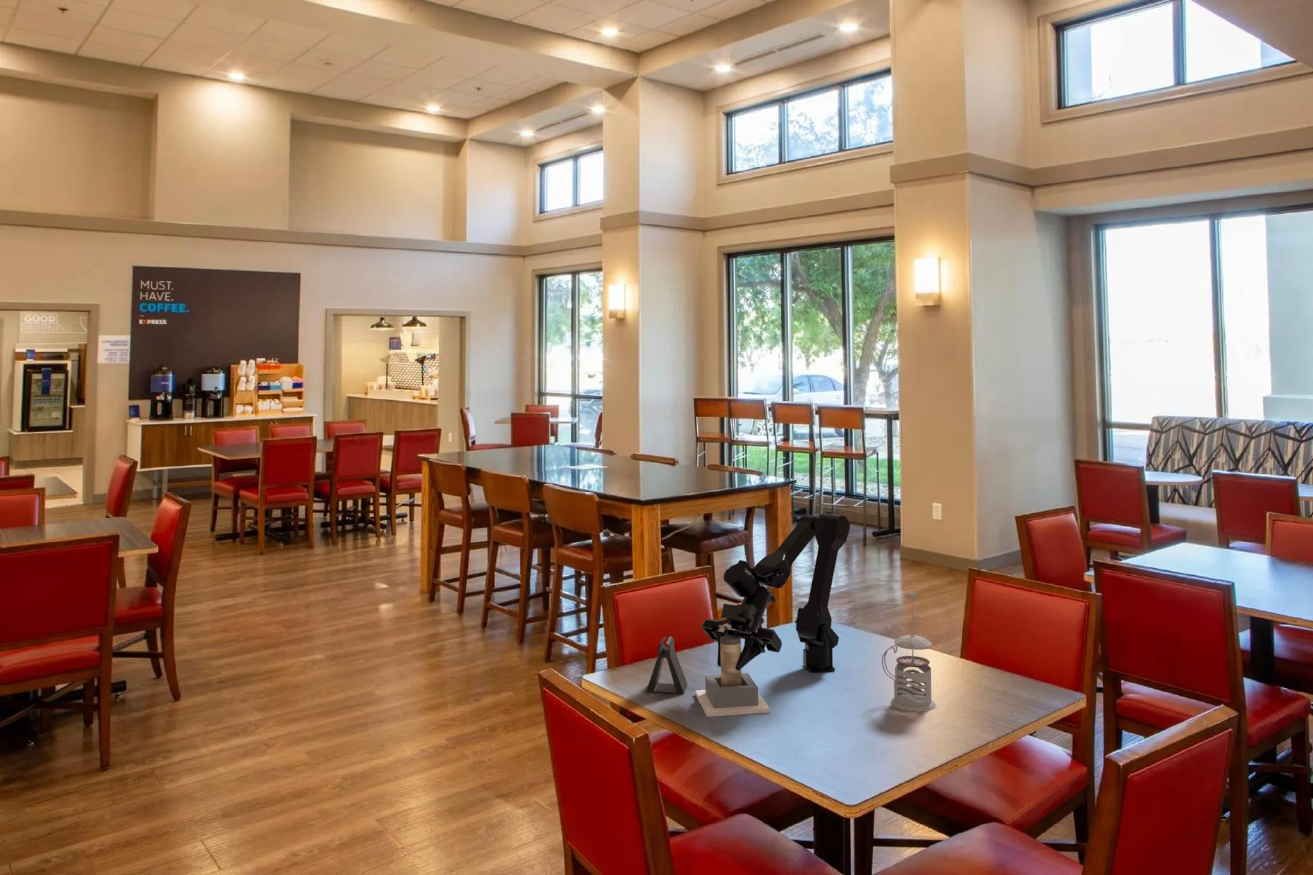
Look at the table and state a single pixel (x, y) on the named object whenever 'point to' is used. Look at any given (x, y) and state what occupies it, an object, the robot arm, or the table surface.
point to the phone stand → (675, 671)
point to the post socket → (730, 697)
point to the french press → (911, 674)
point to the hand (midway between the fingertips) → (727, 667)
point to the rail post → (730, 661)
